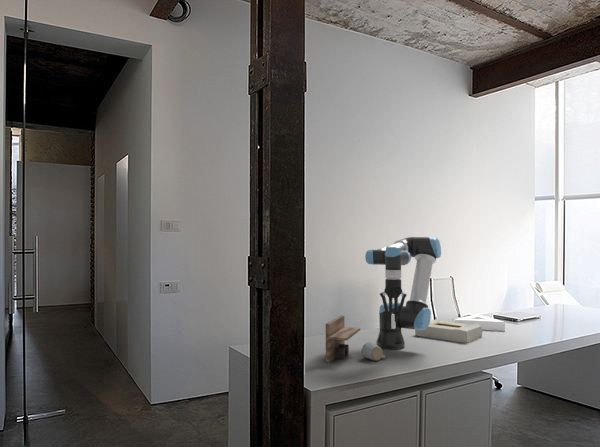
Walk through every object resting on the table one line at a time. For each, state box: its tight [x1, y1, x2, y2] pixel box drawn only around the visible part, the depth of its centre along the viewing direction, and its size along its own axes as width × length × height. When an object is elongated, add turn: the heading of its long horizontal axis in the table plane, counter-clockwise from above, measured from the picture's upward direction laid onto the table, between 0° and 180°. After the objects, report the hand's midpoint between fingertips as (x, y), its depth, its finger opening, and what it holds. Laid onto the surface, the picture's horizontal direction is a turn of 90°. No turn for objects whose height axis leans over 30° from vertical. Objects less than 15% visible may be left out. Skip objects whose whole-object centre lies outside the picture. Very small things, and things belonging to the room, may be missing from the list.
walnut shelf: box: [325, 314, 361, 363], centre depth 238 cm, size 10×26×18 cm, turn 159°
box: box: [414, 319, 483, 344], centre depth 286 cm, size 23×8×32 cm
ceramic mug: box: [361, 341, 386, 362], centre depth 233 cm, size 11×8×8 cm
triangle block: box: [454, 313, 506, 332], centre depth 317 cm, size 30×26×6 cm
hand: (393, 328), depth 230 cm, fingers closed
